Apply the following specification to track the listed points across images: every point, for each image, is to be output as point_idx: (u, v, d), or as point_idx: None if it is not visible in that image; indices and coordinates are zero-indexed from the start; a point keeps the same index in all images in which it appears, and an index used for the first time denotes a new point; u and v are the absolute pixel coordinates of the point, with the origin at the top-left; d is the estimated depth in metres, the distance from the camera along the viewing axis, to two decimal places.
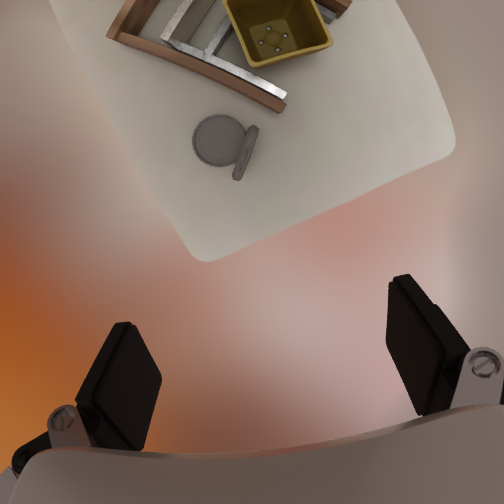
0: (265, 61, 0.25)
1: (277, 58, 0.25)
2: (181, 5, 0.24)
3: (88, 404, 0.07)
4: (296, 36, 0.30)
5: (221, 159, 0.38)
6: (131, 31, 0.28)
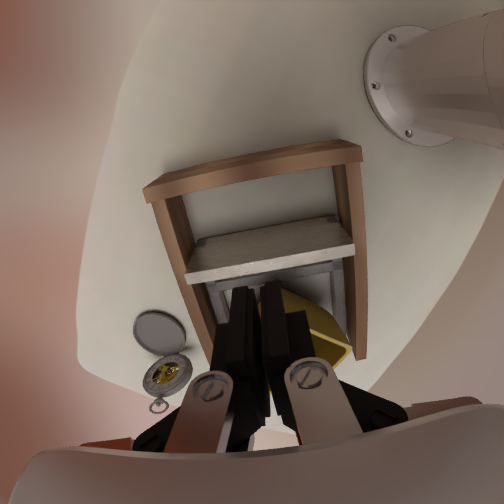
0: None
1: None
2: (237, 266, 0.24)
3: (241, 365, 0.08)
4: None
5: (149, 342, 0.37)
6: None
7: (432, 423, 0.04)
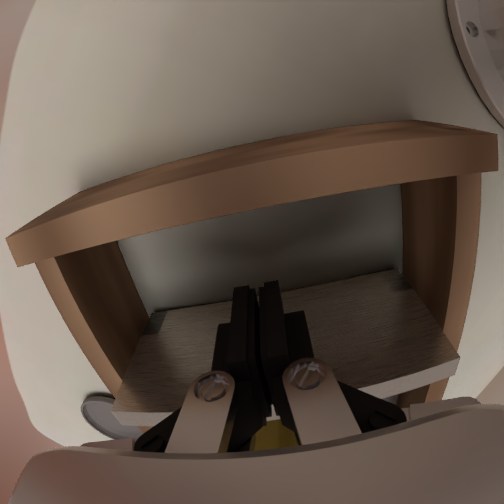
0: None
1: None
2: None
3: (243, 365, 0.08)
4: None
5: (107, 426, 0.23)
6: None
7: (432, 423, 0.04)
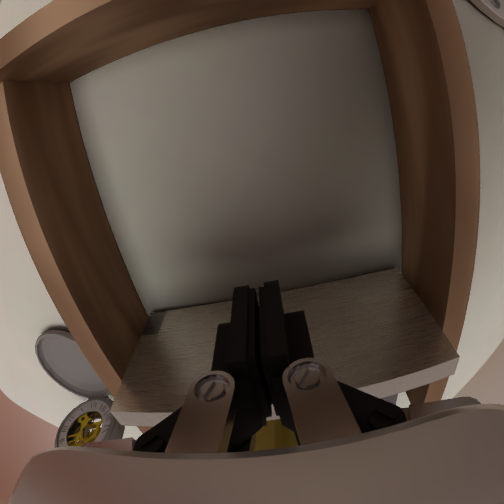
0: None
1: None
2: None
3: (243, 365, 0.08)
4: None
5: (66, 376, 0.20)
6: (50, 74, 0.09)
7: (432, 423, 0.04)
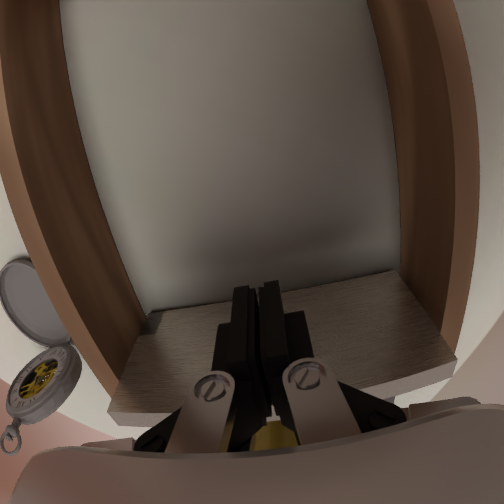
0: None
1: None
2: None
3: (243, 365, 0.08)
4: None
5: (28, 321, 0.17)
6: None
7: (432, 423, 0.04)
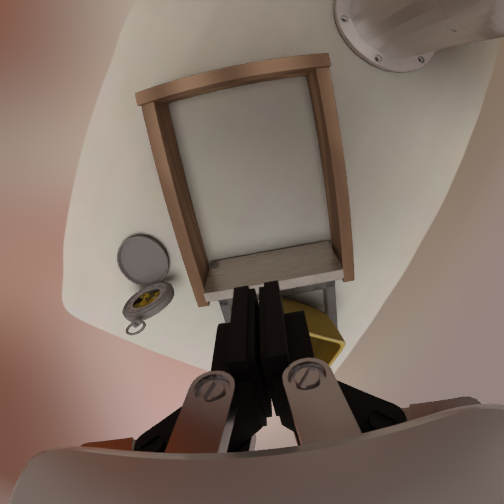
0: None
1: None
2: None
3: (243, 365, 0.08)
4: None
5: (133, 272, 0.37)
6: (167, 100, 0.27)
7: (432, 423, 0.04)
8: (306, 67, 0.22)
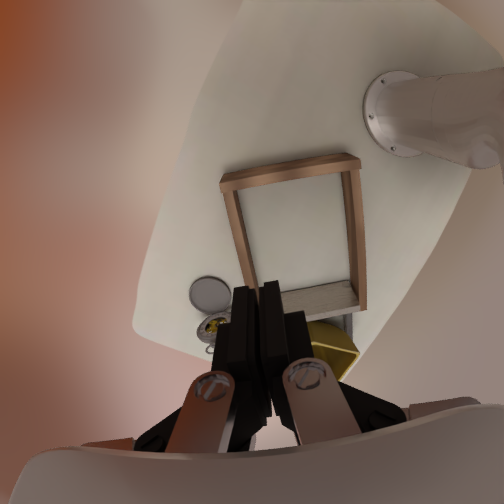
0: None
1: None
2: None
3: (243, 365, 0.08)
4: None
5: (200, 303, 0.50)
6: None
7: (432, 423, 0.04)
8: (344, 170, 0.35)
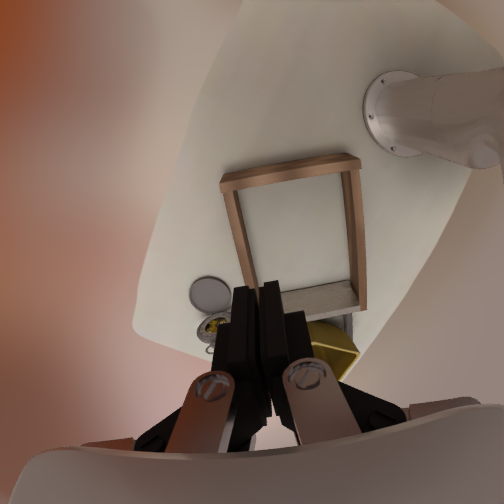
0: None
1: None
2: None
3: (243, 365, 0.08)
4: None
5: (200, 303, 0.50)
6: None
7: (432, 423, 0.04)
8: (344, 170, 0.35)
